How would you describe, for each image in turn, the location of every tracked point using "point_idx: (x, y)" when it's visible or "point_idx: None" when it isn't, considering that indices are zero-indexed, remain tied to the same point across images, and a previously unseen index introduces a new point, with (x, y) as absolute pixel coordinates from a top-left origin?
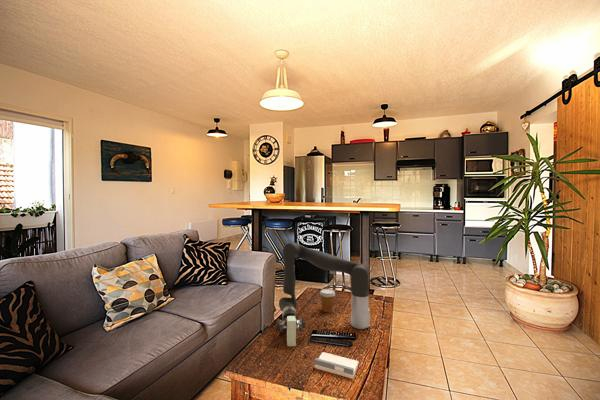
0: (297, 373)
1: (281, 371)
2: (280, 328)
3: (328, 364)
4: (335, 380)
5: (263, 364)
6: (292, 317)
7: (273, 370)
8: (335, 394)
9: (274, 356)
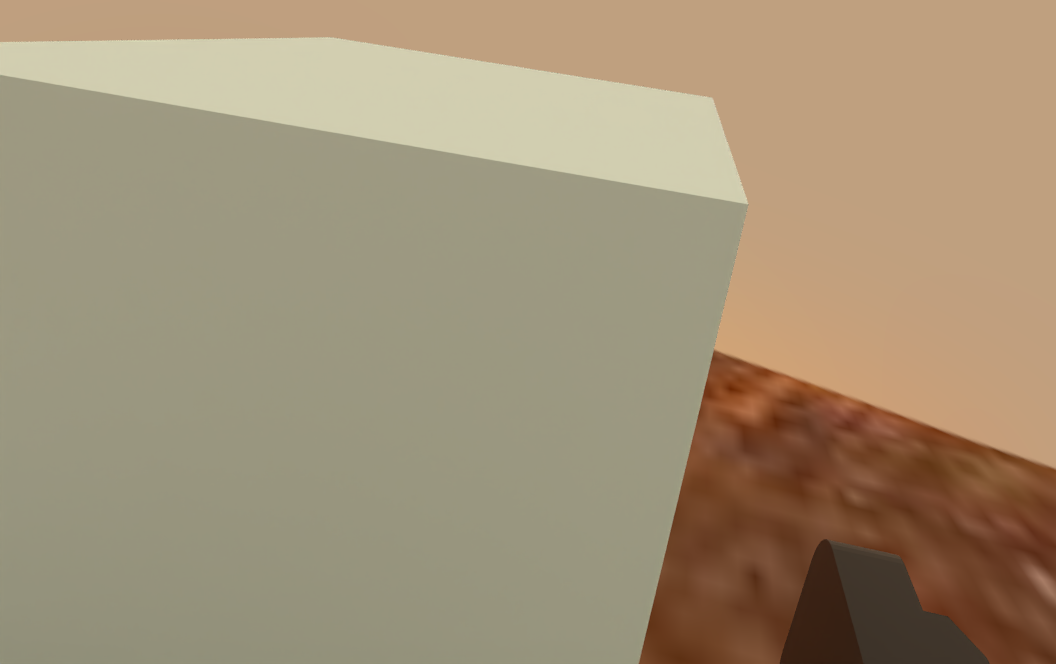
0: None
1: (720, 424)
2: (974, 646)
3: None
4: None
5: (989, 560)
6: (308, 79)
7: (817, 456)
8: None
9: None
